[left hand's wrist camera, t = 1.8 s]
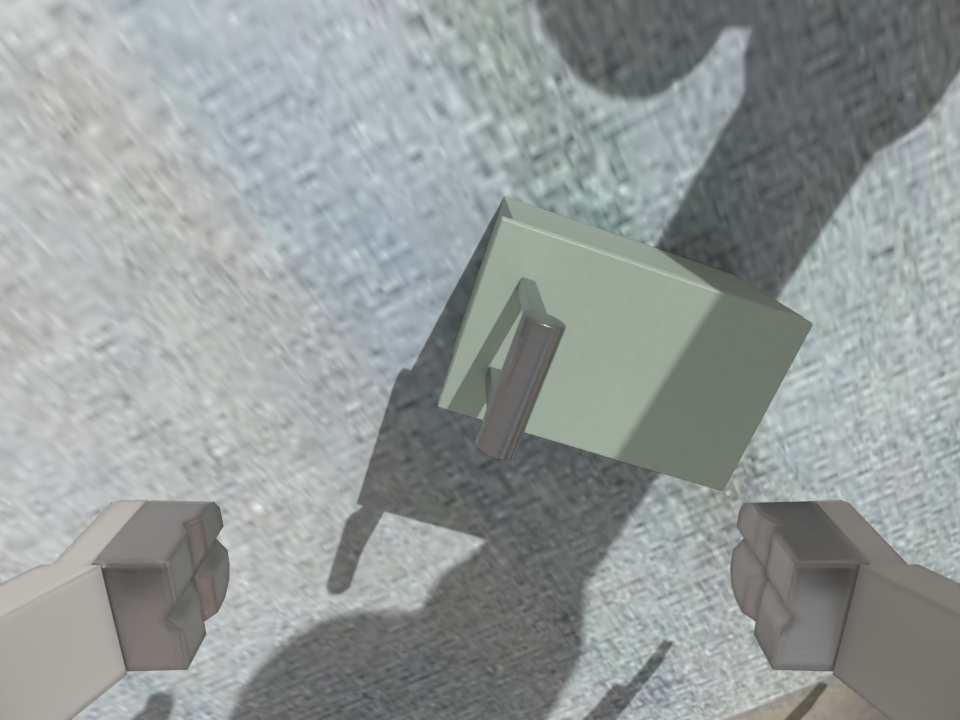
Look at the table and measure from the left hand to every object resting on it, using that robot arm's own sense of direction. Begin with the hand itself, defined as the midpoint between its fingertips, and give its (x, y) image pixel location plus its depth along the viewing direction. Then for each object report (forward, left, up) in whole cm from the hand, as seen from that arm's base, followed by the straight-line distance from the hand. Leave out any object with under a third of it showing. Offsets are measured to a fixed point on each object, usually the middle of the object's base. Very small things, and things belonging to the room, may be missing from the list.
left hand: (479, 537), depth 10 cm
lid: (+7, -6, -21) cm, 23 cm away
